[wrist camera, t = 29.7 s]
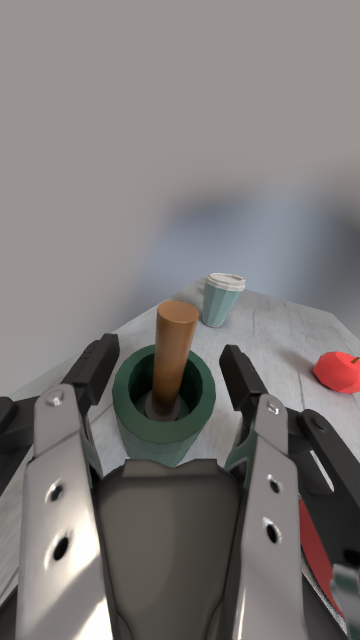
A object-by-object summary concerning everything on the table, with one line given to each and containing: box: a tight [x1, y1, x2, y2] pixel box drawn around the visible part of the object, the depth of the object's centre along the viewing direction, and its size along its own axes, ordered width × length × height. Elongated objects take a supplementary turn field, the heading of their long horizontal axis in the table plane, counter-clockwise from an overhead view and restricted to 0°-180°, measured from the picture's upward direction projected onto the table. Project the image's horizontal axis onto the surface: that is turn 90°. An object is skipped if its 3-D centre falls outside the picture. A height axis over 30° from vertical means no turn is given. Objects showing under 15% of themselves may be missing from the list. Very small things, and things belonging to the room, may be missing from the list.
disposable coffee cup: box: [202, 273, 245, 328], centre depth 40 cm, size 11×11×15 cm
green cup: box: [112, 344, 216, 467], centre depth 17 cm, size 10×10×11 cm
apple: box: [313, 352, 360, 394], centre depth 28 cm, size 8×8×8 cm
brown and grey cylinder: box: [144, 301, 199, 422], centre depth 14 cm, size 4×4×18 cm
